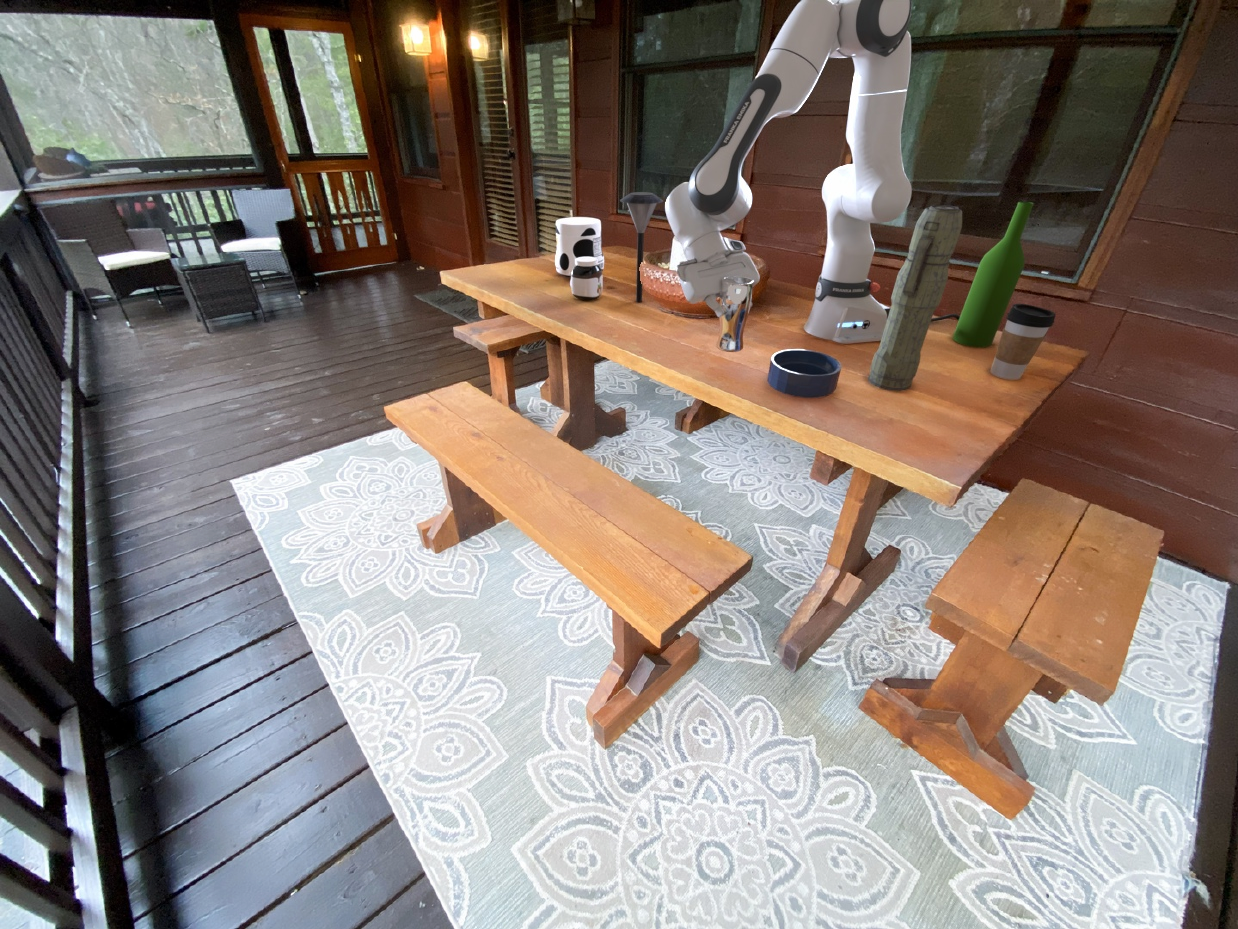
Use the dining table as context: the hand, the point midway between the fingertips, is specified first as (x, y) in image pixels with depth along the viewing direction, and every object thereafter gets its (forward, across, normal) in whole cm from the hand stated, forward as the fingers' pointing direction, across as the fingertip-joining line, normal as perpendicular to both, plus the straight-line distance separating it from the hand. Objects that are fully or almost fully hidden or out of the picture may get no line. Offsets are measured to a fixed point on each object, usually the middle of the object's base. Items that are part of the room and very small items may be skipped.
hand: (736, 311), depth 116 cm
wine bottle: (+28, +63, -9) cm, 69 cm away
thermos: (+28, +22, -10) cm, 37 cm away
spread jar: (-38, +4, +56) cm, 68 cm away
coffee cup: (+38, +47, -19) cm, 64 cm away
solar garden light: (-27, +14, +46) cm, 55 cm away
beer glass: (+6, 0, +6) cm, 9 cm away
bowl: (+21, +5, -2) cm, 21 cm away
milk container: (-53, +17, +71) cm, 90 cm away
